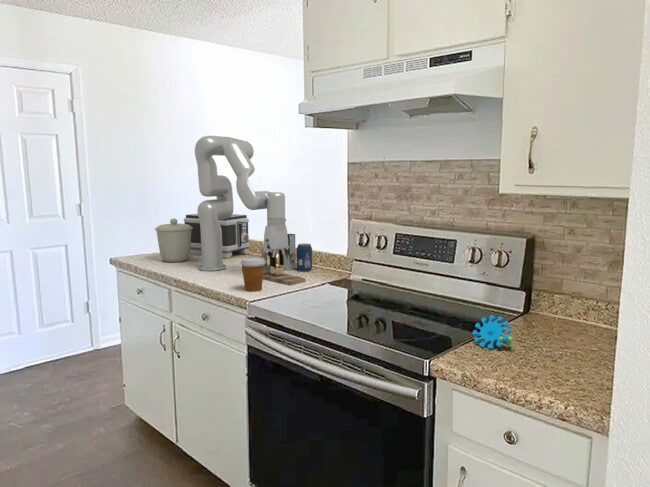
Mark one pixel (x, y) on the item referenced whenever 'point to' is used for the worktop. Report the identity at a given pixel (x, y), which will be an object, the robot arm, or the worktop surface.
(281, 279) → the gauge board
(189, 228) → the canister
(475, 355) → the worktop surface
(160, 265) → the worktop surface
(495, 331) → the gear
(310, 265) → the soda can
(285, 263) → the coffee box
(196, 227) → the microwave oven
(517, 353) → the worktop surface
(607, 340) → the worktop surface
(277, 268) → the sliding leg
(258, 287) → the disposable coffee cup
